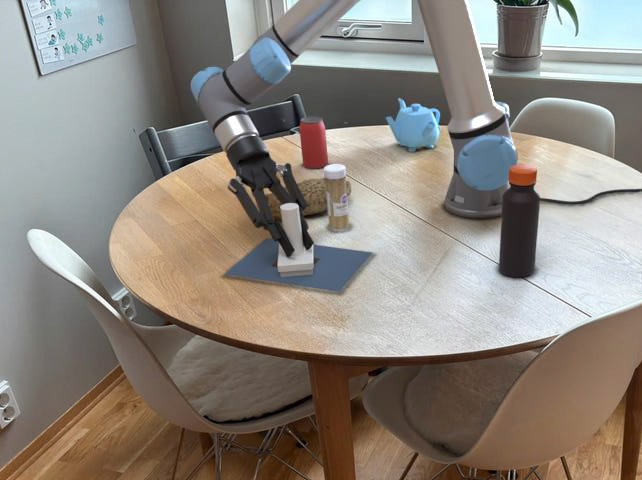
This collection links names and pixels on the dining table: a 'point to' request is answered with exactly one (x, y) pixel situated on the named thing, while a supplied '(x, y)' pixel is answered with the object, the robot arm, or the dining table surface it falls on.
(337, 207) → the sprinkles bottle
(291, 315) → the dining table surface
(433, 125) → the teapot
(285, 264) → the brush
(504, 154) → the robot arm
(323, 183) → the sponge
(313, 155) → the beer can
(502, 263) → the vinegar
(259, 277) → the mat
